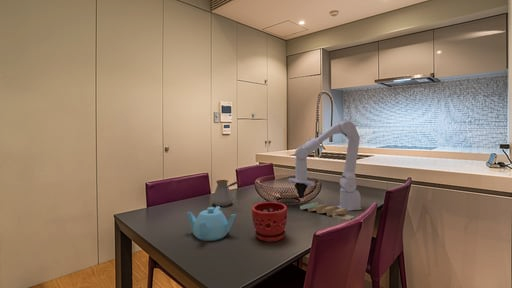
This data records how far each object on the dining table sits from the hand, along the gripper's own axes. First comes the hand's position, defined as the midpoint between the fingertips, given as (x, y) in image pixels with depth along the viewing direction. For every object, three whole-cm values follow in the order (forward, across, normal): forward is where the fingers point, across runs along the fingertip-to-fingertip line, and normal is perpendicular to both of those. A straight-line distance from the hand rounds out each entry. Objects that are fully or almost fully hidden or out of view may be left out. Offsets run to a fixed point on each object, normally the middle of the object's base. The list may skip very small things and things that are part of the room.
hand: (301, 197), depth 144 cm
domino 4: (+5, +19, 0) cm, 19 cm away
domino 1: (+4, +6, 0) cm, 7 cm away
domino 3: (+4, +16, 0) cm, 16 cm away
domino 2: (+4, +11, 0) cm, 11 cm away
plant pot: (+6, +13, -39) cm, 41 cm away
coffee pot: (+5, -30, -23) cm, 38 cm away
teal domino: (+4, +1, 0) cm, 5 cm away
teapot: (+6, -5, -53) cm, 53 cm away
